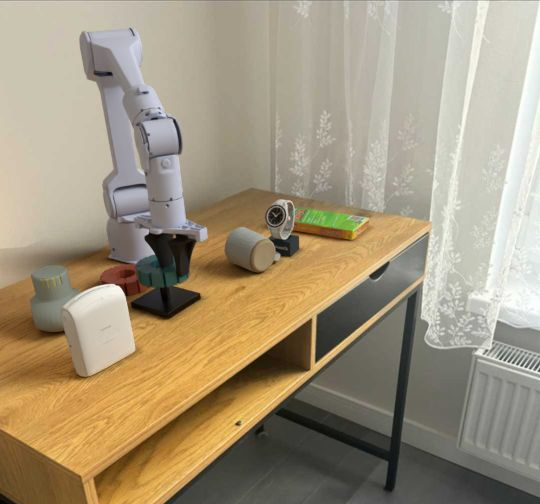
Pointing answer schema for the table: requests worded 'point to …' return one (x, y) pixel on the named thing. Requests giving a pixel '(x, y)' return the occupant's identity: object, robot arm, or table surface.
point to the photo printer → (97, 328)
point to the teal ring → (157, 273)
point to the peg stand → (165, 301)
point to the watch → (282, 227)
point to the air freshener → (50, 296)
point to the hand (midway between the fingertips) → (175, 272)
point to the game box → (329, 223)
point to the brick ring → (123, 279)
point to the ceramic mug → (250, 250)
